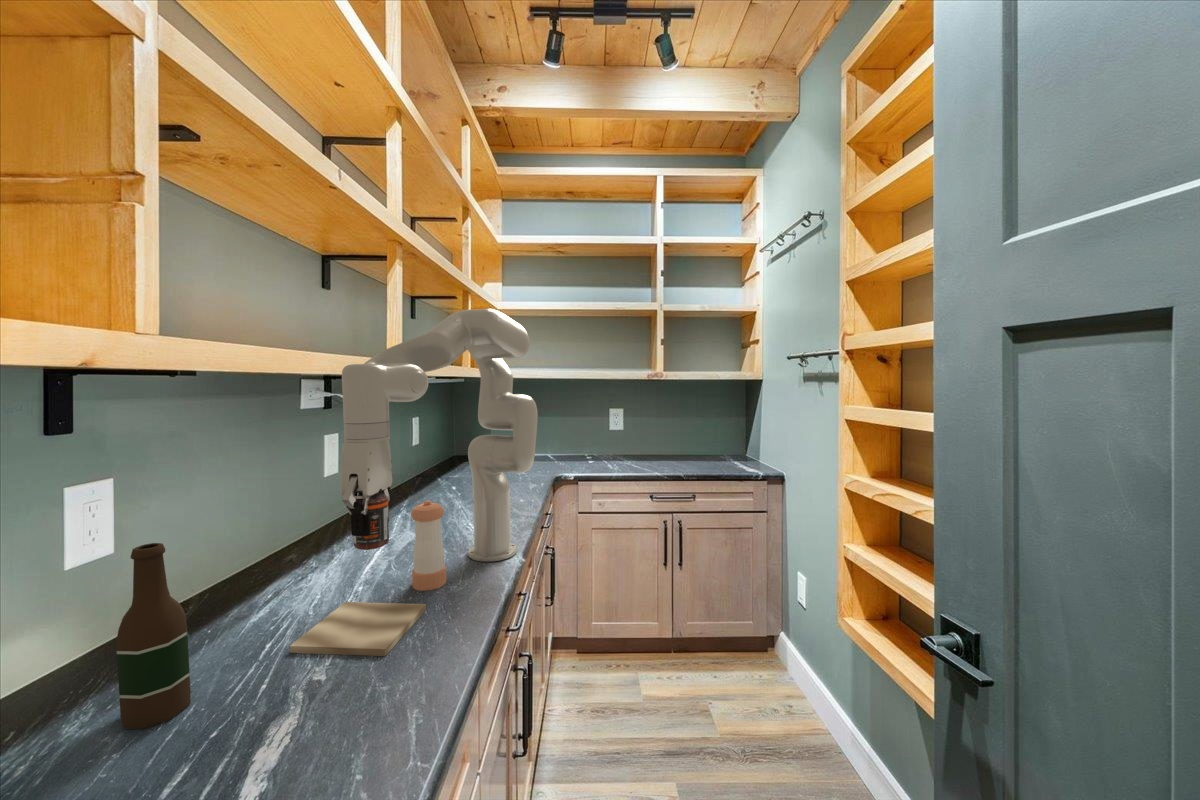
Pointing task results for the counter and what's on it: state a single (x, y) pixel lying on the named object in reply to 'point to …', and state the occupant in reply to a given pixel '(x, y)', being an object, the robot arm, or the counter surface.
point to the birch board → (360, 629)
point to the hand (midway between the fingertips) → (371, 528)
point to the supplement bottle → (375, 523)
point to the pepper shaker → (428, 547)
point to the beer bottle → (152, 647)
